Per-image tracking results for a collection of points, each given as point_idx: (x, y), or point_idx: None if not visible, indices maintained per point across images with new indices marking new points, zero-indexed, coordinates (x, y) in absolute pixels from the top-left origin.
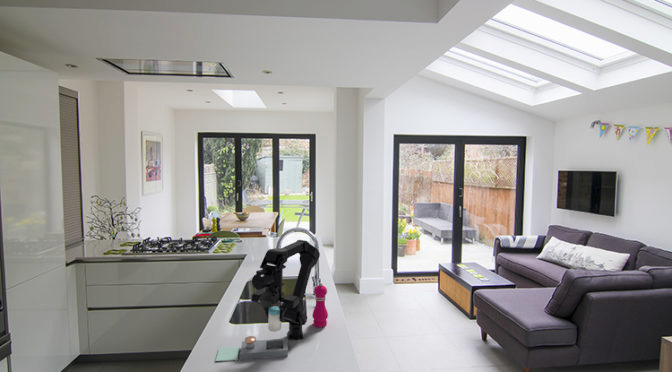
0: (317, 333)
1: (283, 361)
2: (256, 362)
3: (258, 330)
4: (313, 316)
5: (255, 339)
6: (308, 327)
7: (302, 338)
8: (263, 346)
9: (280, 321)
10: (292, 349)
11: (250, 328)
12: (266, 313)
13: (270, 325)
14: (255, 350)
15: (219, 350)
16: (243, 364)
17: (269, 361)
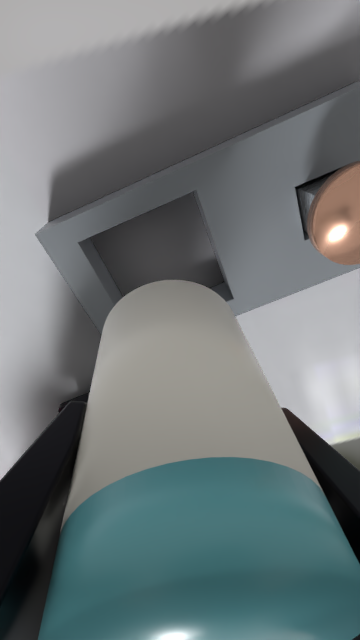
0: (17, 456)
1: (41, 149)
2: (230, 80)
3: (312, 404)
4: None
5: (317, 222)
6: None
7: (62, 403)
8: (233, 233)
9: (75, 401)
10: (61, 301)
11: (354, 407)
12: (354, 478)
13: (208, 315)
14: (276, 162)
15: None
16: (321, 19)
17: (140, 121)
